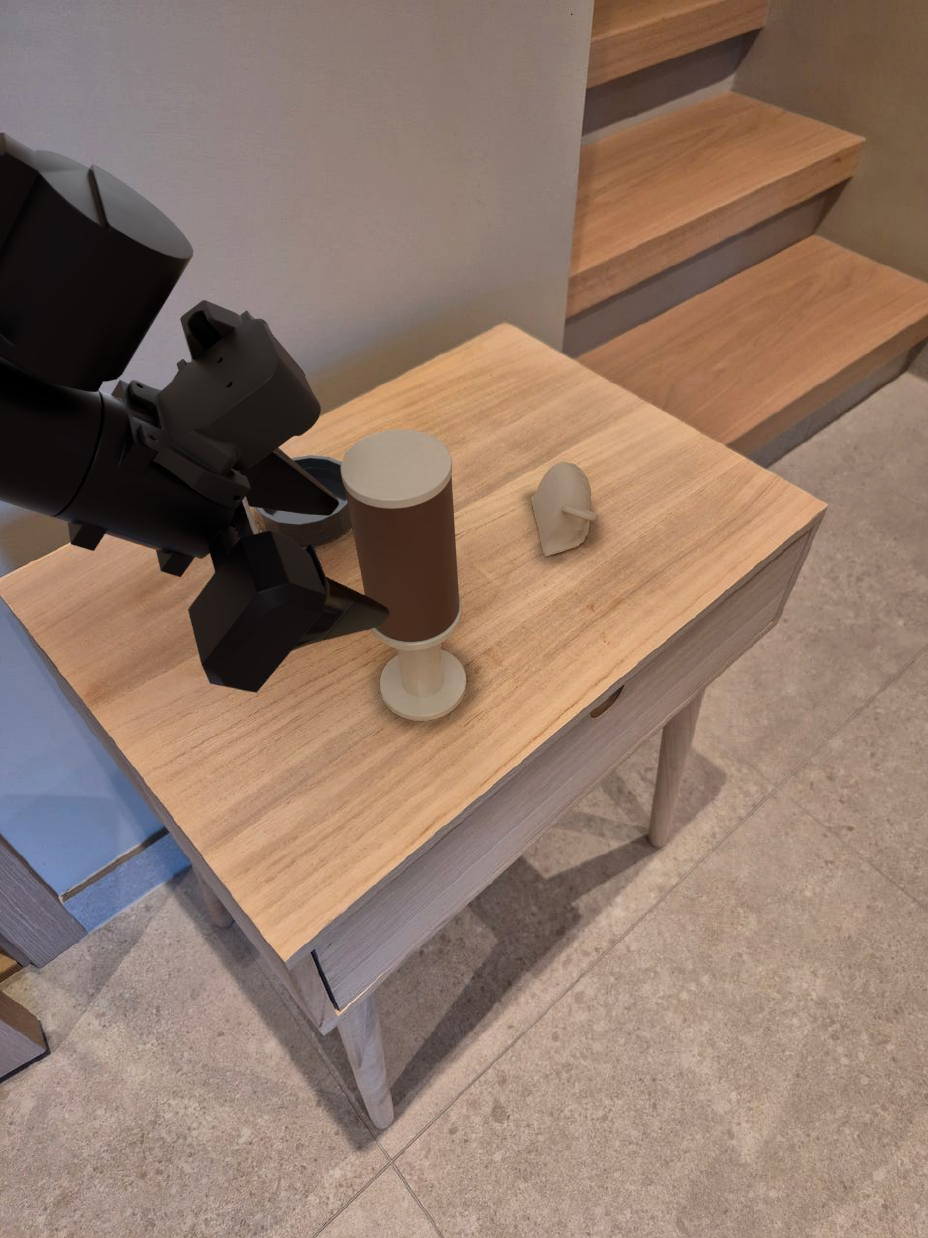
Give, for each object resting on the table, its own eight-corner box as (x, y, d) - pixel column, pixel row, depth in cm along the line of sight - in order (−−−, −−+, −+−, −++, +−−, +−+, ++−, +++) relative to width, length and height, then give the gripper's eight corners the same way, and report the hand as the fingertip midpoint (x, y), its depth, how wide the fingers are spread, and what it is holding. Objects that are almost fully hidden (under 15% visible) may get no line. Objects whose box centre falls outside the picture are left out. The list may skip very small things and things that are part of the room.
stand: (435, 735, 54) (426, 659, 48) (363, 697, 56) (346, 619, 50) (482, 673, 57) (480, 594, 51) (413, 639, 59) (402, 559, 53)
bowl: (316, 561, 65) (311, 538, 63) (238, 524, 68) (230, 500, 66) (380, 499, 69) (376, 476, 67) (303, 467, 72) (298, 443, 70)
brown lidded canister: (425, 657, 48) (409, 514, 40) (348, 619, 50) (317, 475, 42) (478, 595, 51) (472, 449, 43) (403, 561, 53) (384, 416, 45)
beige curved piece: (580, 493, 69) (585, 440, 65) (598, 567, 63) (605, 513, 59) (531, 497, 69) (532, 444, 65) (544, 571, 63) (547, 518, 59)
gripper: (211, 430, 27) (525, 569, 37) (133, 198, 38) (391, 356, 49) (56, 662, 31) (377, 726, 42) (28, 391, 42) (286, 497, 53)
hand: (358, 559), depth 46 cm, fingers open, 9 cm apart
